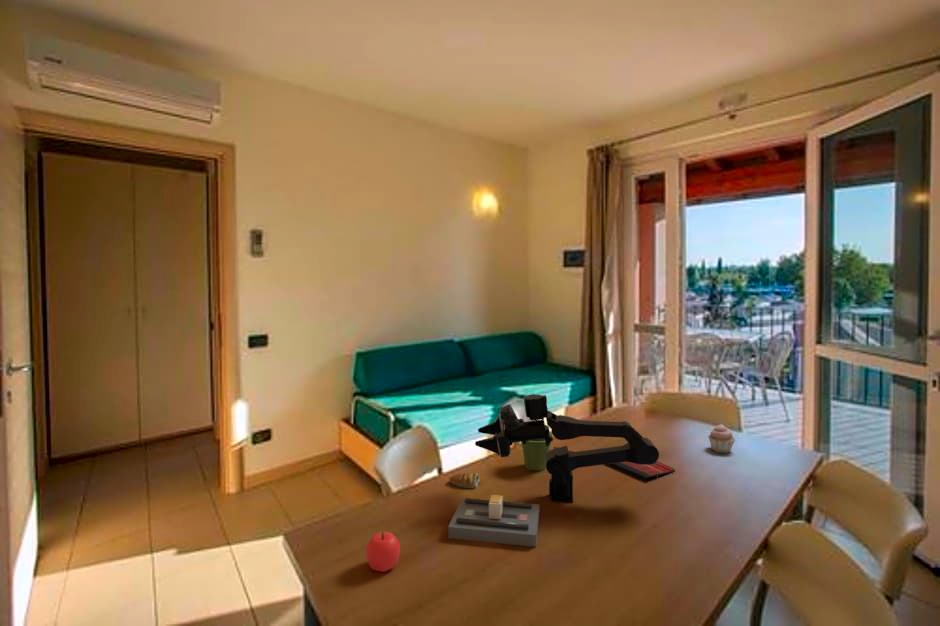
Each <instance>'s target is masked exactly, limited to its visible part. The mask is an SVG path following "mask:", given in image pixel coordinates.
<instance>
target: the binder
mask: <svg viewBox="0 0 940 626" xmlns="http://www.w3.org/2000/svg"><path fill="white" fill-rule="evenodd" d="M605 465H606V466H608V467H610V468H612V469H615V470H617V471H620V472H622V473H624V474H625V475H628V476H631V477H633V478H636V479H637V480H640V481H642V482H644V481H645V483H648V480H650V479H651V477H652V478H656V479H655V480H658V479H660V477H661V478H663V477H666V476H668V474H669V475H671V474H670V473H672V474H674V473H675V472H676V471H675V470H676V469H675V468H673V467H670V466H669V465H666V464H664V463H662V462H659V461H658V460H657V461H656V463H654V464H651V465H643V464H635V463H630V462H620V463H612V464H604V466H605ZM673 472H674V473H673ZM665 475H666V476H665ZM654 476H658V477H654ZM657 478H658V479H657Z"/></svg>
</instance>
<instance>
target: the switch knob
mask: <svg viewBox="0 0 940 626" xmlns="http://www.w3.org/2000/svg"><path fill="white" fill-rule="evenodd" d="M489 500H490V501H489V518H492V519H501V515H502V511H503V501H504V495H501V494H491V496H490V498H489Z"/></svg>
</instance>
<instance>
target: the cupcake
mask: <svg viewBox="0 0 940 626" xmlns="http://www.w3.org/2000/svg"><path fill="white" fill-rule="evenodd" d="M707 438H708V440H709V444H710V448H711V450H712V451H714V452H716V453H721V454H729V453H730V452H731V451H732V447H733V445H734V444H735V442H736V439H735V437H734V435H733V433H732V431H731V430H730V429H729V428H728V427H726V426H725V425H724V424H722V423H720V424H719V425H716V426H714V428H713V429H712V430H711V431H710V434H709V435H707Z"/></svg>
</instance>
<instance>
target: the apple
mask: <svg viewBox="0 0 940 626" xmlns="http://www.w3.org/2000/svg"><path fill="white" fill-rule="evenodd" d="M365 547H366V548H365V552H364V553H365V556H366V560H367V564H368V566H369V567H370V568H371V569H372V570H373V571H377V572H382V573H384V572H388V571H390V570H392V569H393V568H395V567H396V565H397V563H398V561H399V557H400V553H401V543H400V540H399V539H398V538H397V537H396V536H395V535H394V534H393V533H392V532H386V531H381V532H378V533H375V534H373V535H372V537H371V538H370V539H369V541H368V543H367V545H366V546H365Z"/></svg>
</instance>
